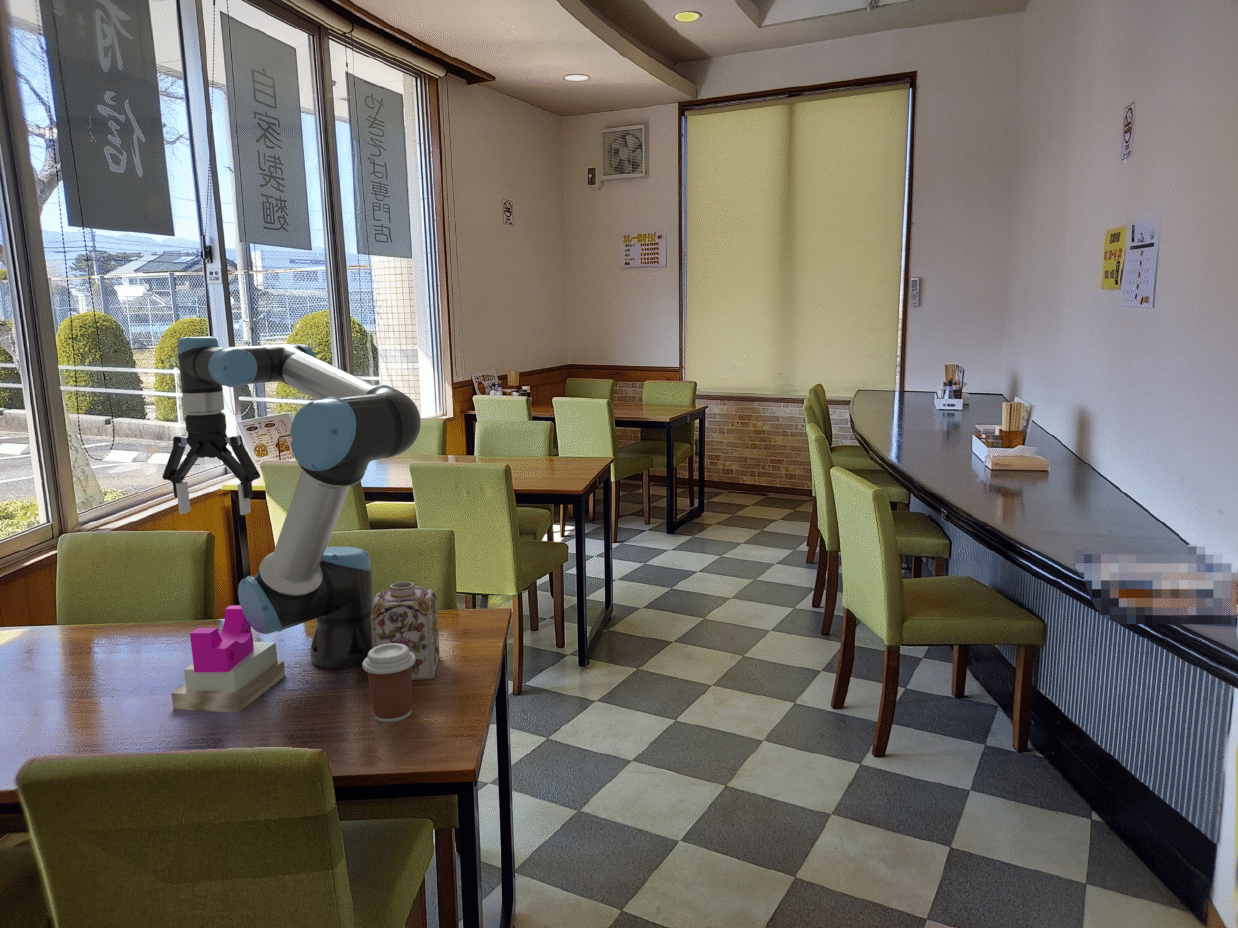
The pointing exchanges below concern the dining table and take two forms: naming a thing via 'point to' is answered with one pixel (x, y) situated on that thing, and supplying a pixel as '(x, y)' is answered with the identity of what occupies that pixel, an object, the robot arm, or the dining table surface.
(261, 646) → the tower top slab
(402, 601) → the decorative jar
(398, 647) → the coffee cup
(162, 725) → the dining table surface
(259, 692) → the tower base slab
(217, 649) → the toy block
